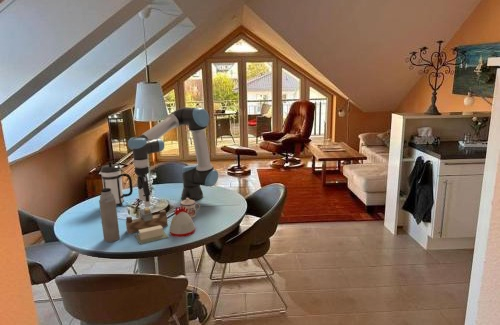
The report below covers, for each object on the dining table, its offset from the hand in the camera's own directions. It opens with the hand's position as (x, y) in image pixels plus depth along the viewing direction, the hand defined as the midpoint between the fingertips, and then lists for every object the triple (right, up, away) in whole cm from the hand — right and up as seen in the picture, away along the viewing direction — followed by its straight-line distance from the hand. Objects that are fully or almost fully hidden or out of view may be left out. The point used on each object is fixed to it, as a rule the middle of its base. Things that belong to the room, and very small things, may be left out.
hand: (144, 203), depth 208 cm
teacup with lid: (+23, -10, +21) cm, 33 cm away
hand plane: (+1, -15, +4) cm, 15 cm away
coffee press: (-32, -6, +46) cm, 56 cm away
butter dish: (+6, -17, -8) cm, 20 cm away
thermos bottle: (-15, -18, -9) cm, 25 cm away
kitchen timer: (+22, -16, -2) cm, 27 cm away
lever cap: (0, -9, +2) cm, 9 cm away
